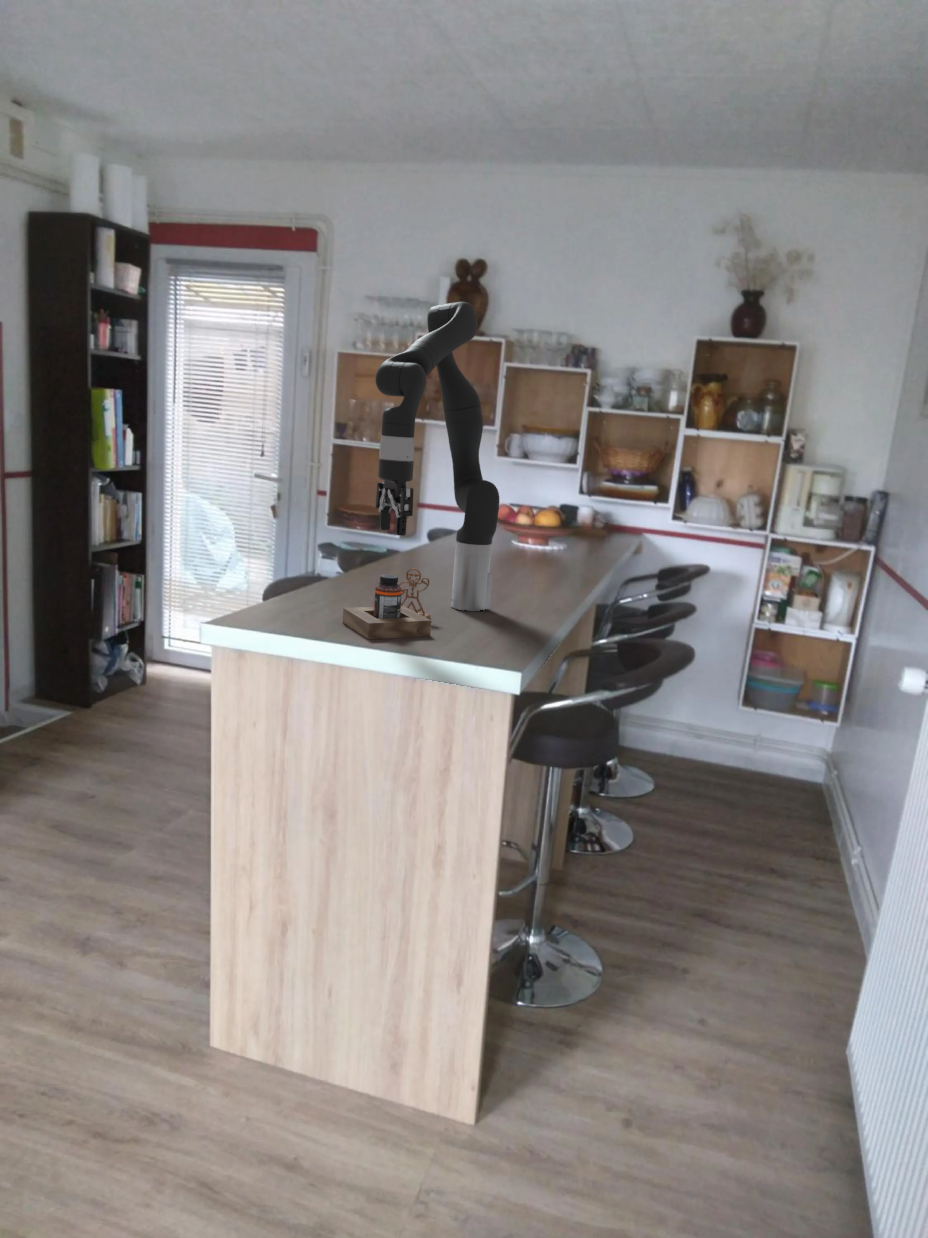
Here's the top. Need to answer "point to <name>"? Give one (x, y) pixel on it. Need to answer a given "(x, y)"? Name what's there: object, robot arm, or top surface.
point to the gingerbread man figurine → (417, 591)
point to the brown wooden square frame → (386, 623)
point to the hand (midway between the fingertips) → (392, 532)
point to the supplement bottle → (387, 598)
